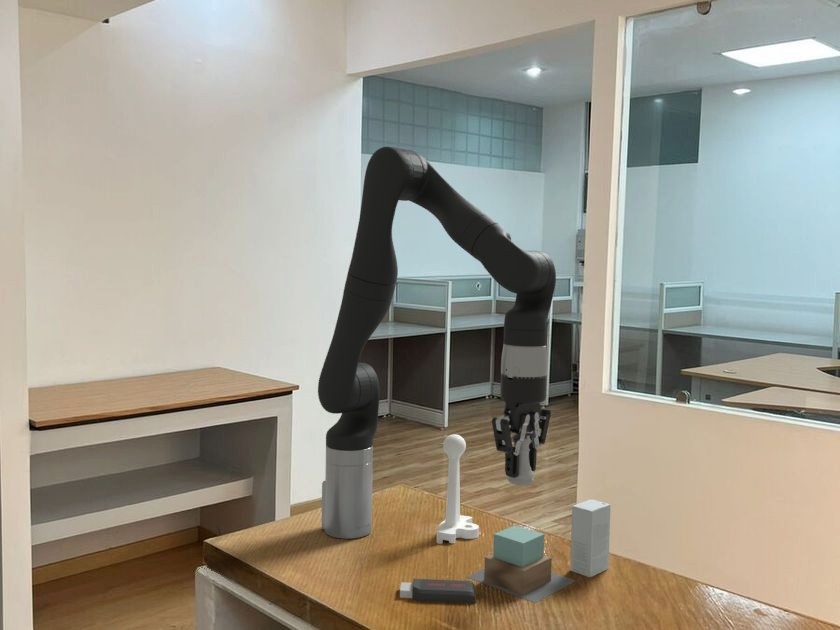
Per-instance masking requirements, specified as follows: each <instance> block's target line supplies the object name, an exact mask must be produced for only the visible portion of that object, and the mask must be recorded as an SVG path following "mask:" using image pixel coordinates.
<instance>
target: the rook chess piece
mask: <svg viewBox="0 0 840 630" xmlns="http://www.w3.org/2000/svg"><path fill="white" fill-rule="evenodd" d="M513 435H515V436H517V435H518V434H516V433H513ZM514 442H515V441H514V440H512V443H514ZM531 442H532V441H531V439H530V435H528V434H525V438H524V441H523V442H521V445H520V450H519V454H518V455H519V476H518V477H515V478H513V477H509V476H507V481H508V482H509V484H511V485H515V486H529V485H532V484H533V483H534V481H535V479H534V474H535V473H534V471H532V470H531V467H530V463H529V451H530V449H529V444H530V443H531Z"/></svg>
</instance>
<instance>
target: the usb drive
mask: <svg viewBox="0 0 840 630" xmlns="http://www.w3.org/2000/svg"><path fill="white" fill-rule="evenodd" d="M399 588H400V589H399V598H401V599H411V600H414V601H418V602H431V603H432V602H433V603H435V602H436V603H438V602H439V603H457V604H458V603H459V604H477V602H476V600H477V598H476V588H475V583H474V582H473V581H472V580H471V581H470V580H454V579H453V580H452V579H430V578H429V579H427V578H413V582H404V581H401V582H400V587H399Z"/></svg>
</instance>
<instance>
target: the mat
mask: <svg viewBox="0 0 840 630" xmlns="http://www.w3.org/2000/svg"><path fill="white" fill-rule="evenodd" d="M466 578H468V579H471V580H473V581H476V582H478V583H482V584H483V585H487V586H489V587H492V588H495V589H497V590H500V591H502V592H504V593H507V594H510V595H513V596H515V597H518V598H521V599H523V600H526V601H529V602H531V603H534V604H536V603H538V602H540V601H542V600H544V599H545V598H548V597H549V596H551V595H553V594H555V593H557V592H558V591H560V590H562V589H564V588H566V587H568V586H569V585H572V584H573V583H575V582H576V580H574V579H572V578H569V577H566V576H564V575H560V574H557V573H555V572H552V571H551V581H549V582H547V583H545V584H544V585H542V586H540V587H538V588H536V589H534V590H532V591H530V592H528V593H526V594H524V595H522V594H519V593H517V592H514V591H511V590H509V589H506V588H503V587H501V586H498V585H495V584H493V583H490V582H487V581H485V580H484V568H482V569H480V570H478V571H476V572H474V573H471V574H470V575H466Z"/></svg>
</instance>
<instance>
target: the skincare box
mask: <svg viewBox="0 0 840 630" xmlns="http://www.w3.org/2000/svg"><path fill="white" fill-rule="evenodd" d="M610 529H611V503H607V502H604V501H600V500H596V499H593V498H589V499H587V500H585V501H582V502H580V503H577V504H574V505H572V508H571V537H570V538H571V539H570V571H571V572H573V573H577V574H578V575H582V576H584V577H588V578H592V577H594V576H596V575H598V574H600V573H603V572H604V571H607V570H609V568H610V567H609V566H610V565H609V564H610V562H609V560H610V532H611V531H610Z"/></svg>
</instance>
